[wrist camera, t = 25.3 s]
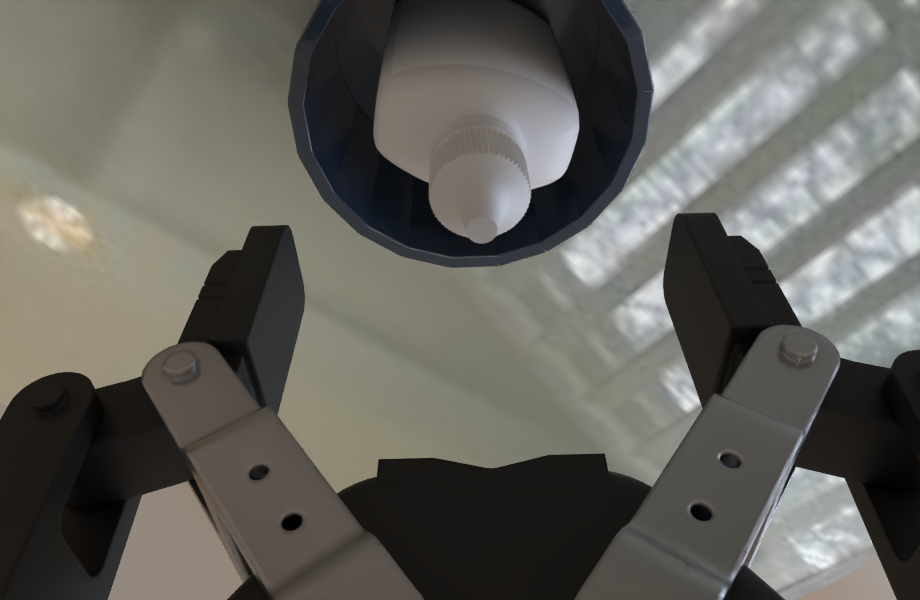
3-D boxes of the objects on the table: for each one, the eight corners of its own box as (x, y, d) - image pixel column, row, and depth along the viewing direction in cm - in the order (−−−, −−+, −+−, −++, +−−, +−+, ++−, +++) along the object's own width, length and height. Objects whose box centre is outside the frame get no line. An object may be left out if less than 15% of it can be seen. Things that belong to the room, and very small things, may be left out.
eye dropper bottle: (446, -70, 23) (443, 77, 14) (572, 41, 25) (642, 232, 16) (368, 38, 25) (319, 228, 16) (491, 131, 27) (511, 345, 18)
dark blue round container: (301, -119, 22) (253, -66, 17) (623, -132, 22) (679, -84, 17) (345, 168, 29) (320, 272, 23) (596, 159, 29) (629, 262, 23)
